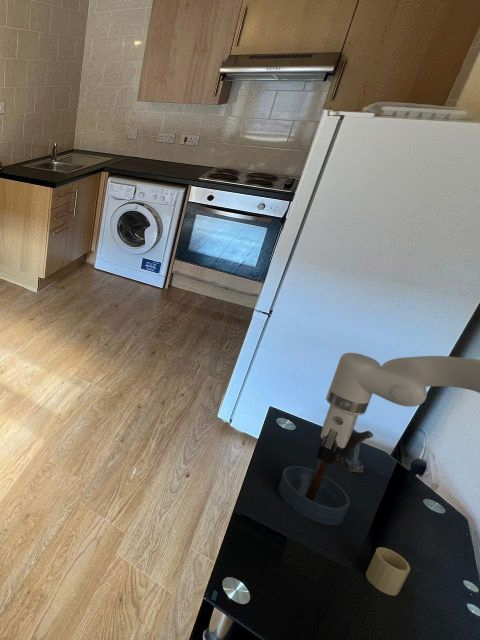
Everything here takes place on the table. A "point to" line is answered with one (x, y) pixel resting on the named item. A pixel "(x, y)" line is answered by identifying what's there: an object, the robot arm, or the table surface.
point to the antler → (352, 452)
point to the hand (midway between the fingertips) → (325, 457)
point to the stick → (316, 479)
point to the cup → (387, 571)
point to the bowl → (327, 502)
